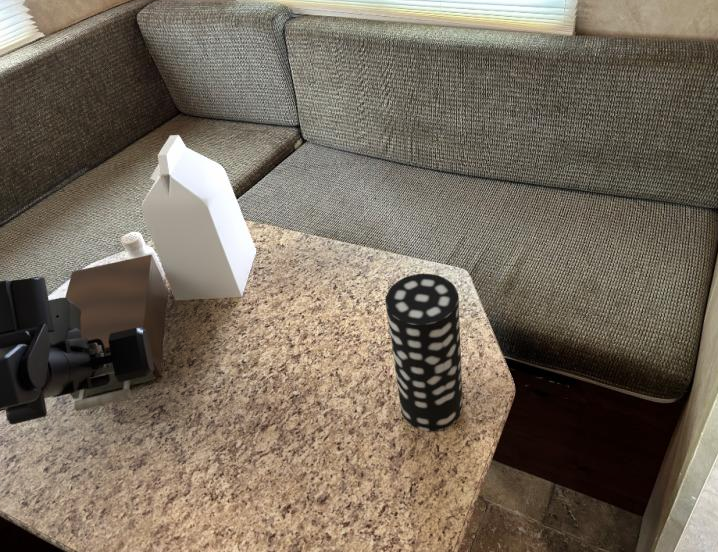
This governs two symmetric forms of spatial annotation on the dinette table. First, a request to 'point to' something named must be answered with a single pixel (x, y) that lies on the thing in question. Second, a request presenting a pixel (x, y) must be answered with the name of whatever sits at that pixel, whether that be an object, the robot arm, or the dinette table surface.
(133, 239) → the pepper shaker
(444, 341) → the spotted tube
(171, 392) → the dinette table surface
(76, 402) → the drawer
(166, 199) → the milk
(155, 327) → the cabinet
